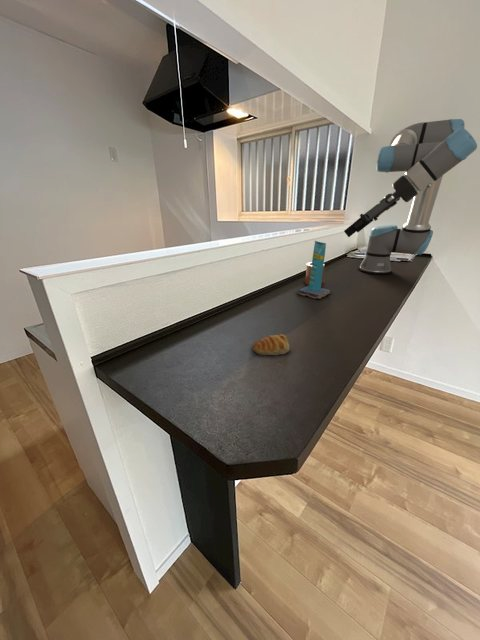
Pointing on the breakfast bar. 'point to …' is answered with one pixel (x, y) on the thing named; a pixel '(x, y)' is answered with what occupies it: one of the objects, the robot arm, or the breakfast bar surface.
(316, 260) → the tube
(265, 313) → the breakfast bar surface
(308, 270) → the cup
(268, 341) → the pastry
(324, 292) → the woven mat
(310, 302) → the breakfast bar surface
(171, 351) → the breakfast bar surface
